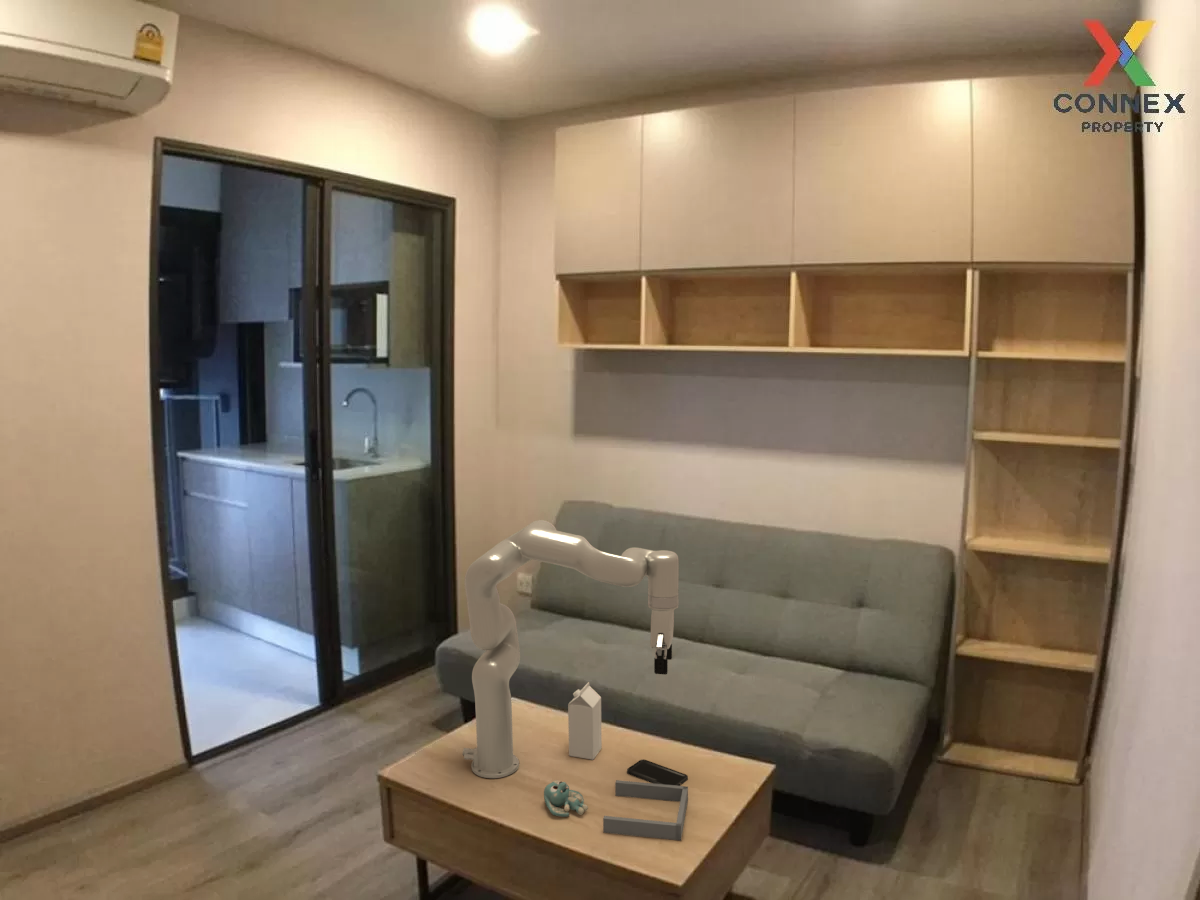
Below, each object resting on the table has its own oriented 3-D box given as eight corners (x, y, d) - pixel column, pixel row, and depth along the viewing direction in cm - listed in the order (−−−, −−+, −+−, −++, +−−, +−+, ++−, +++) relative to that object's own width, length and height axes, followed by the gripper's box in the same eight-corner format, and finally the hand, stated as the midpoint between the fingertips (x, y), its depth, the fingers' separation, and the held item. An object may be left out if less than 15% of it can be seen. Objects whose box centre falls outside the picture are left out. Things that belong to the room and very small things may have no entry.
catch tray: (603, 832, 200) (603, 818, 200) (616, 793, 217) (616, 780, 216) (681, 840, 197) (681, 826, 196) (688, 799, 213) (688, 786, 213)
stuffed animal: (574, 806, 202) (534, 782, 208) (570, 832, 203) (531, 808, 210) (600, 786, 210) (561, 764, 217) (596, 811, 212) (557, 788, 218)
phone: (642, 758, 233) (689, 775, 224) (642, 762, 233) (689, 779, 224) (624, 770, 227) (672, 788, 217) (624, 774, 227) (672, 792, 218)
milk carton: (601, 748, 240) (601, 683, 237) (593, 760, 233) (592, 693, 231) (577, 744, 242) (576, 680, 240) (568, 756, 236) (567, 690, 233)
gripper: (652, 589, 224) (652, 652, 227) (643, 610, 207) (643, 678, 210) (681, 591, 223) (681, 654, 225) (674, 612, 206) (674, 680, 208)
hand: (663, 666), depth 218 cm, fingers open, 9 cm apart
